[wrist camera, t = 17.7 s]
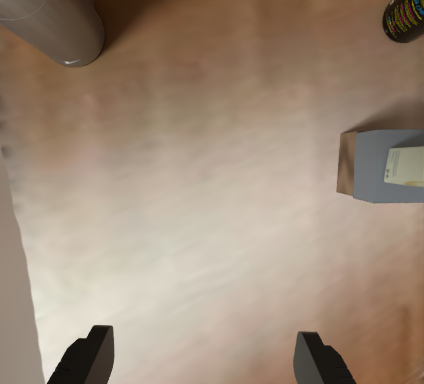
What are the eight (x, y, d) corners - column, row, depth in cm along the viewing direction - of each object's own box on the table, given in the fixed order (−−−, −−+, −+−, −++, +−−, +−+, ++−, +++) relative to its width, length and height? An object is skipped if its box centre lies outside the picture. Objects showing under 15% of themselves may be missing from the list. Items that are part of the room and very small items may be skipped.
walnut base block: (339, 134, 44) (356, 131, 39) (395, 135, 45) (420, 132, 40) (335, 191, 45) (351, 195, 40) (390, 192, 46) (413, 196, 41)
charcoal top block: (355, 133, 39) (377, 129, 34) (419, 132, 40) (450, 129, 35) (352, 197, 40) (374, 203, 35) (414, 196, 41) (444, 202, 36)
